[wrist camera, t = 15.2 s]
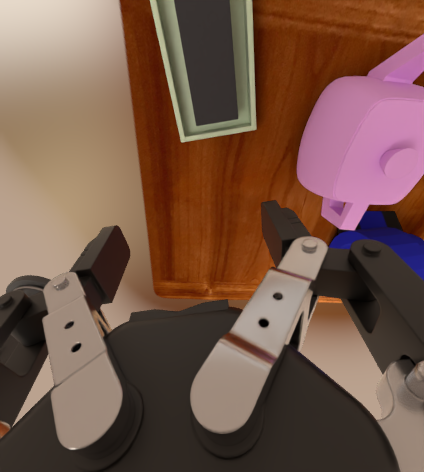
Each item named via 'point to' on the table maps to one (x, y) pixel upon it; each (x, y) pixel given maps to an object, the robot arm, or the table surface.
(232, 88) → the black rectangular block
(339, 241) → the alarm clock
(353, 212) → the teapot
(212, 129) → the pale green tray
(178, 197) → the table surface
